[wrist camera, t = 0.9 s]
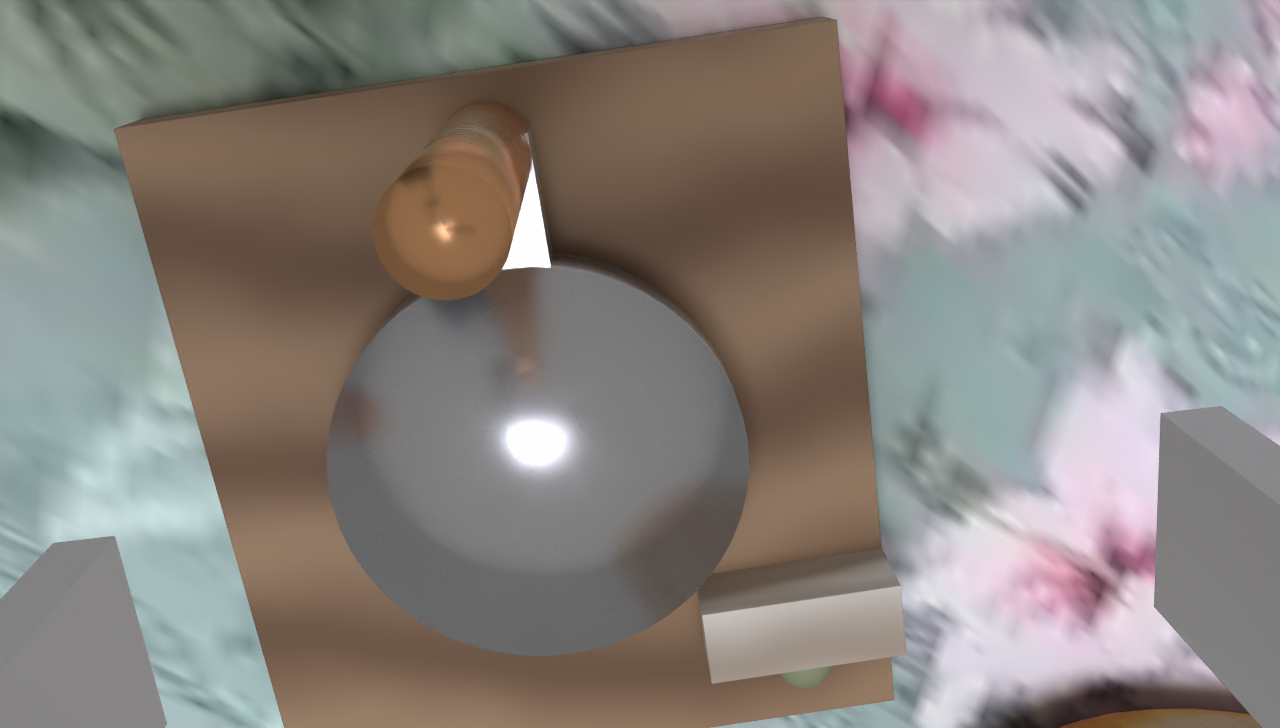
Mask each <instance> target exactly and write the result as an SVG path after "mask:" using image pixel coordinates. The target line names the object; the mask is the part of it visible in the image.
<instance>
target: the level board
mask: <svg viewBox="0 0 1280 728" xmlns="http://www.w3.org/2000/svg"><path fill="white" fill-rule="evenodd" d="M479 101H493V102H498V103H501V104H504V105H506V106H508V107H510V108H512V109H513V110H515V111H516V112H517V113H518V114H519V115H520V116H521V117H522V118H523V119H524V120H525V122H526V123H527V125H528V124H531V129H532V134H533V140H534V146H535V152H536V158H537V164H538V170H539V175H540V181H541V187H542V193H543V199H544V205H545V211H546V216H547V222H548V228H549V234H550V240H551V246H552V252H562V253H568V254H574V255H580V256H586V257H590V258H594V259H597V260H600V261H603V262H607V263H610V264H613V265H616V266H618V267H620V268H623V269H625V270H627V271H629V272H631V273H634V274H636V275H638V276H640V277H642V278H643V279H645V280H646V281H648V282H650V283H651V284H653V285H654V286H656V287H658V288H659V289H661V290H662V291H664V292H665V293H666V294H667V295H669V296H670V297H671V298H672V299H673V300H675V301H676V302H677V303H678V304H679V305H681V306H682V307H683V308H684V309H685V310H686V311H687V312H688V313H689V314H690V316H691V317H692V318H693V319H694V320H695V321H696V322H697V323H698V324H699V325H700V326H701V328H702V329H703V331H704V332H705V334H706V335H707V336H708V338H709V339H710V341H711V342H712V344H713V345H714V346H715V348H716V350H717V352H718V354H719V356H720V358H721V360H722V362H723V364H724V366H725V368H726V370H727V372H728V375H729V378H730V381H731V384H732V386H733V389H734V392H735V395H736V398H737V401H738V404H739V406H740V409H741V412H742V415H743V419H744V424H745V429H746V434H747V439H748V452H749V476H748V487H747V494H746V499H745V503H744V507H743V511H742V516H741V518H740V521H739V524H738V526H737V529H736V531H735V534H734V537H733V539H732V541H731V543H730V545H729V547H728V548H727V550H726V552H725V554H724V556H723V557H722V559H721V561H720V563H719V564H718V565H717V567H716V568H715V569H714V571H713V572H712V573H711V575H710V576H709V577H708V579H707V580H706V581H705V583H704V584H703V585H702V586H701V587H700V588H699V589H698V590H697V591H696V592H695V593H694V594H693V595H692V596H691V597H690V598H689V599H688V600H687V601H686V602H685V603H683V604H682V605H681V606H680V607H678V608H677V609H676V610H675V611H673V612H672V613H671V614H670V615H669V616H667V617H665V618H664V619H662V620H661V621H659V622H657V623H656V624H654V625H653V626H651V627H649V628H648V629H646V630H644V631H642V632H640V633H637V634H635V635H633V636H631V637H629V638H627V639H625V640H622V641H619V642H616V643H613V644H610V645H607V646H604V647H601V648H598V649H593V650H588V651H583V652H578V653H574V654H563V655H552V656H528V655H515V654H508V653H500V652H494V651H490V650H486V649H482V648H478V647H475V646H471V645H468V644H465V643H463V642H460V641H457V640H455V639H452V638H450V637H447V636H445V635H443V634H441V633H439V632H437V631H435V630H433V629H431V628H429V627H428V626H426V625H424V624H422V623H421V622H419V621H418V620H416V619H415V618H413V617H412V616H410V615H409V614H407V613H406V612H405V611H403V610H402V609H400V608H399V607H398V606H397V605H396V604H395V603H394V602H393V601H391V600H390V599H389V598H388V597H387V596H386V595H385V594H384V593H382V592H381V590H380V589H379V588H378V587H377V586H376V585H375V583H374V582H373V581H372V580H371V579H370V578H369V577H368V575H367V574H366V573H365V572H364V570H363V569H362V567H361V566H360V564H359V563H358V561H357V560H356V558H355V557H354V555H353V554H352V552H351V551H350V548H349V546H348V544H347V542H346V540H345V538H344V536H343V534H342V532H341V530H340V528H339V525H338V522H337V519H336V515H335V512H334V509H333V506H332V502H331V497H330V491H329V485H328V480H327V445H328V437H329V428H330V424H331V420H332V416H333V413H334V409H335V405H336V402H337V399H338V397H339V395H340V392H341V390H342V388H343V385H344V383H345V381H346V378H347V377H348V375H349V373H350V371H351V370H352V368H353V366H354V364H355V363H356V361H357V359H358V358H359V356H360V354H361V353H362V351H363V349H364V348H365V346H366V344H367V343H368V341H369V339H370V338H371V336H372V334H373V333H374V332H375V331H376V329H377V328H378V327H379V326H380V325H381V323H382V322H383V321H384V320H385V318H386V317H387V316H388V315H389V314H390V313H391V312H392V311H393V310H394V309H395V308H396V307H397V306H398V305H399V304H401V303H402V302H403V301H404V300H405V299H406V298H407V297H408V296H409V295H411V294H412V292H411V291H409V290H407V289H406V288H404V287H403V286H401V285H400V284H399V283H397V282H396V281H395V280H394V279H393V278H392V277H391V276H390V274H389V273H388V272H387V271H386V269H385V268H384V266H383V264H382V263H381V261H380V259H379V257H378V254H377V252H376V248H375V245H374V239H373V221H374V215H375V211H376V208H377V206H378V203H379V201H380V199H381V197H382V196H383V194H384V193H385V191H386V190H387V189H388V187H389V186H390V185H391V184H392V183H393V182H394V181H395V179H396V178H397V177H398V176H399V175H400V174H401V173H402V172H403V170H404V169H405V168H406V167H407V166H408V165H409V164H410V163H411V161H412V160H413V159H414V158H415V157H416V156H417V155H418V153H419V152H420V151H421V150H422V149H423V148H424V147H425V146H426V144H427V143H428V142H429V141H430V140H431V139H432V138H433V137H434V135H435V134H436V133H437V132H438V131H439V130H440V129H441V128H442V126H443V125H444V124H445V123H446V122H447V121H448V120H449V119H450V117H451V116H452V115H453V114H454V113H455V112H456V111H458V110H459V109H461V108H462V107H464V106H466V105H468V104H471V103H474V102H479ZM114 131H115V134H116V138H117V141H118V145H119V148H120V152H121V155H122V159H123V162H124V166H125V169H126V173H127V176H128V180H129V183H130V187H131V190H132V194H133V197H134V201H135V205H136V208H137V212H138V215H139V219H140V222H141V226H142V229H143V233H144V236H145V240H146V243H147V247H148V250H149V254H150V257H151V261H152V264H153V268H154V271H155V275H156V278H157V282H158V285H159V289H160V292H161V296H162V299H163V303H164V307H165V310H166V314H167V317H168V321H169V324H170V328H171V331H172V335H173V338H174V342H175V345H176V349H177V352H178V356H179V359H180V363H181V366H182V370H183V373H184V377H185V380H186V384H187V387H188V391H189V394H190V398H191V401H192V405H193V408H194V412H195V416H196V419H197V423H198V426H199V430H200V433H201V437H202V440H203V444H204V447H205V451H206V454H207V458H208V461H209V465H210V468H211V472H212V475H213V479H214V482H215V486H216V489H217V493H218V496H219V500H220V503H221V507H222V510H223V514H224V517H225V521H226V525H227V528H228V532H229V535H230V539H231V542H232V546H233V549H234V553H235V556H236V560H237V563H238V567H239V570H240V574H241V577H242V581H243V584H244V588H245V591H246V595H247V598H248V602H249V605H250V609H251V612H252V616H253V619H254V623H255V626H256V630H257V634H258V637H259V641H260V644H261V648H262V651H263V655H264V658H265V662H266V665H267V669H268V672H269V676H270V679H271V683H272V686H273V690H274V693H275V697H276V700H277V704H278V707H279V711H280V714H281V718H282V721H283V725H284V728H710V727H716V726H723V725H730V724H736V723H743V722H750V721H757V720H763V719H770V718H777V717H783V716H790V715H797V714H804V713H810V712H817V711H824V710H830V709H837V708H844V707H850V706H857V705H864V704H871V703H877V702H884V701H891V700H895V699H894V687H893V676H892V664H891V657H895V656H901V655H906V643H905V631H904V619H903V606H902V594H901V585H900V583H899V581H898V579H897V577H896V575H895V573H894V571H893V569H892V568H891V566H890V564H889V562H888V560H887V558H886V556H885V554H884V552H883V550H882V546H881V535H880V523H879V511H878V500H877V488H876V476H875V464H874V453H873V441H872V429H871V417H870V406H869V394H868V382H867V371H866V359H865V347H864V335H863V324H862V312H861V300H860V288H859V277H858V265H857V253H856V241H855V230H854V218H853V206H852V195H851V183H850V171H849V159H848V148H847V136H846V124H845V112H844V101H843V89H842V77H841V66H840V54H839V42H838V30H837V20H834V19H830V18H825V17H820V18H813V19H806V20H800V21H793V22H786V23H780V24H773V25H766V26H760V27H753V28H747V29H740V30H733V31H727V32H720V33H713V34H707V35H700V36H694V37H687V38H680V39H674V40H667V41H660V42H654V43H647V44H640V45H634V46H627V47H621V48H614V49H607V50H601V51H594V52H587V53H581V54H574V55H567V56H561V57H554V58H548V59H541V60H534V61H528V62H521V63H514V64H508V65H501V66H494V67H488V68H481V69H475V70H468V71H461V72H455V73H448V74H441V75H435V76H428V77H421V78H415V79H408V80H402V81H395V82H388V83H382V84H375V85H368V86H362V87H355V88H349V89H342V90H335V91H329V92H322V93H315V94H309V95H302V96H295V97H289V98H282V99H276V100H269V101H262V102H256V103H249V104H242V105H236V106H229V107H222V108H216V109H209V110H203V111H196V112H189V113H183V114H176V115H169V116H163V117H156V118H149V119H143V120H138V121H135V122H133V123H130V124H127V125H124V126H121V127H118V128H115V129H114Z"/></svg>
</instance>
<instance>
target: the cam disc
mask: <svg viewBox="0 0 1280 728" xmlns="http://www.w3.org/2000/svg"><path fill="white" fill-rule="evenodd" d="M373 239H374V245H375V248H376V252H377V254H378V257H379V259H380V261H381V263H382V264H383V266H384V268H385V269H386V271H387V272H388V273H389V274H390V276H391V277H392V278H393V279H394V280H395V281H396V282H397V283H399V284H400V285H401V286H403V287H404V288H406V289H407V290H409V291H411V292H412V294H411V295H409V296H408V297H407V298H406V299H405V300H404V301H403V302H402V303H401V304H399V305H398V306H397V307H396V308H395V309H394V310H393V311H392V312H391V313H390V314H389V315H388V316H387V317H386V318H385V320H384V321H383V322H382V323H381V325H380V326H379V327H378V328H377V329H376V331H375V332H374V333H373V334H372V336H371V338H370V339H369V341H368V343H367V344H366V346H365V348H364V349H363V351H362V353H361V354H360V356H359V358H358V359H357V361H356V363H355V364H354V366H353V368H352V370H351V371H350V373H349V375H348V377H347V378H346V381H345V383H344V385H343V388H342V390H341V392H340V395H339V397H338V399H337V402H336V405H335V409H334V413H333V416H332V420H331V424H330V428H329V437H328V445H327V480H328V485H329V491H330V497H331V502H332V506H333V509H334V512H335V515H336V519H337V522H338V525H339V528H340V530H341V532H342V534H343V536H344V538H345V540H346V542H347V544H348V546H349V548H350V551H351V552H352V554H353V555H354V557H355V558H356V560H357V561H358V563H359V564H360V566H361V567H362V569H363V570H364V572H365V573H366V574H367V575H368V577H369V578H370V579H371V580H372V581H373V582H374V583H375V585H376V586H377V587H378V588H379V589H380V590H381V592H382V593H384V594H385V595H386V596H387V597H388V598H389V599H390V600H391V601H393V602H394V603H395V604H396V605H397V606H398V607H399V608H400V609H402V610H403V611H405V612H406V613H407V614H409V615H410V616H412V617H413V618H415V619H416V620H418V621H419V622H421V623H422V624H424V625H426V626H428V627H429V628H431V629H433V630H435V631H437V632H439V633H441V634H443V635H445V636H447V637H450V638H452V639H455V640H457V641H460V642H463V643H465V644H468V645H471V646H475V647H478V648H482V649H486V650H490V651H494V652H500V653H508V654H515V655H528V656H552V655H563V654H574V653H578V652H583V651H588V650H593V649H598V648H601V647H604V646H607V645H610V644H613V643H616V642H619V641H622V640H625V639H627V638H629V637H631V636H633V635H635V634H637V633H640V632H642V631H644V630H646V629H648V628H649V627H651V626H653V625H654V624H656V623H657V622H659V621H661V620H662V619H664V618H665V617H667V616H669V615H670V614H671V613H672V612H673V611H675V610H676V609H677V608H678V607H680V606H681V605H682V604H683V603H685V602H686V601H687V600H688V599H689V598H690V597H691V596H692V595H693V594H694V593H695V592H696V591H697V590H698V589H699V588H700V587H701V586H702V585H703V584H704V583H705V581H706V580H707V579H708V577H709V576H710V575H711V573H712V572H713V571H714V569H715V568H716V567H717V565H718V564H719V563H720V561H721V559H722V557H723V556H724V554H725V552H726V550H727V548H728V547H729V545H730V543H731V541H732V539H733V537H734V534H735V531H736V529H737V526H738V524H739V521H740V518H741V516H742V511H743V507H744V503H745V499H746V494H747V487H748V476H749V452H748V439H747V434H746V429H745V424H744V419H743V415H742V412H741V409H740V406H739V404H738V401H737V398H736V395H735V392H734V389H733V386H732V384H731V381H730V378H729V375H728V372H727V370H726V368H725V366H724V364H723V362H722V360H721V358H720V356H719V354H718V352H717V350H716V348H715V346H714V345H713V344H712V342H711V341H710V339H709V338H708V336H707V335H706V334H705V332H704V331H703V329H702V328H701V326H700V325H699V324H698V323H697V322H696V321H695V320H694V319H693V318H692V317H691V316H690V314H689V313H688V312H687V311H686V310H685V309H684V308H683V307H682V306H681V305H679V304H678V303H677V302H676V301H675V300H673V299H672V298H671V297H670V296H669V295H667V294H666V293H665V292H664V291H662V290H661V289H659V288H658V287H656V286H654V285H653V284H651V283H650V282H648V281H646V280H645V279H643V278H642V277H640V276H638V275H636V274H634V273H631V272H629V271H627V270H625V269H623V268H620V267H618V266H616V265H613V264H610V263H607V262H603V261H600V260H597V259H594V258H590V257H586V256H580V255H574V254H568V253H562V252H552V246H551V240H550V234H549V228H548V222H547V216H546V211H545V205H544V199H543V193H542V187H541V181H540V175H539V170H538V164H537V158H536V152H535V146H534V140H533V134H532V129H531V124H528V125H527V123H526V122H525V120H524V119H523V118H522V117H521V116H520V115H519V114H518V113H517V112H516V111H515V110H513V109H512V108H510V107H508V106H506V105H504V104H501V103H498V102H493V101H479V102H474V103H471V104H468V105H466V106H464V107H462V108H461V109H459V110H458V111H456V112H455V113H454V114H453V115H452V116H451V117H450V119H449V120H448V121H447V122H446V123H445V124H444V125H443V126H442V128H441V129H440V130H439V131H438V132H437V133H436V134H435V135H434V137H433V138H432V139H431V140H430V141H429V142H428V143H427V144H426V146H425V147H424V148H423V149H422V150H421V151H420V152H419V153H418V155H417V156H416V157H415V158H414V159H413V160H412V161H411V163H410V164H409V165H408V166H407V167H406V168H405V169H404V170H403V172H402V173H401V174H400V175H399V176H398V177H397V178H396V179H395V181H394V182H393V183H392V184H391V185H390V186H389V187H388V189H387V190H386V191H385V193H384V194H383V196H382V197H381V199H380V201H379V203H378V206H377V208H376V211H375V215H374V221H373Z"/></svg>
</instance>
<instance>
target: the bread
mask: <svg viewBox="0 0 1280 728" xmlns="http://www.w3.org/2000/svg"><path fill="white" fill-rule="evenodd" d="M1059 728H1262V727H1261V726H1260V724H1259V723H1258V722H1257V721H1256V720H1255V719H1254V718H1253V717H1252V716H1251V714H1245V713H1238V712H1229V711H1217V710H1205V709H1193V708H1186V709H1150V710H1139V711H1128V712H1117V713H1109V714H1104V715H1100V716H1096V717H1092V718H1088V719H1084V720H1081V721H1077V722H1073V723H1070V724H1067V725H1064V726H1062V727H1059Z"/></svg>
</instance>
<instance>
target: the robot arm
mask: <svg viewBox="0 0 1280 728" xmlns="http://www.w3.org/2000/svg"><path fill="white" fill-rule="evenodd" d="M1154 607H1155V608H1156V609H1157V611H1158V612H1159V613H1160V614H1161V615H1162V616H1163V617H1164V618H1165V619H1166V621H1167V622H1168V623H1169V624H1170V625H1171V626H1172V627H1173V628H1174V630H1175V631H1176V632H1177V633H1178V634H1179V635H1180V636H1181V637H1182V638H1183V640H1184V641H1185V642H1186V643H1187V644H1188V645H1189V646H1190V647H1191V649H1192V650H1193V651H1194V652H1195V653H1196V654H1197V655H1198V656H1199V657H1200V659H1201V660H1202V661H1203V662H1204V663H1205V664H1206V665H1207V666H1208V668H1209V669H1210V670H1211V671H1212V672H1213V673H1214V674H1215V675H1216V676H1217V678H1218V679H1219V680H1220V681H1221V682H1222V683H1223V684H1224V685H1225V687H1226V688H1227V689H1228V690H1229V691H1230V692H1231V693H1232V694H1233V695H1234V697H1235V698H1236V699H1237V700H1238V701H1239V702H1240V703H1241V704H1242V706H1243V707H1244V708H1245V709H1246V710H1247V711H1248V712H1249V713H1250V714H1251V716H1252V717H1253V718H1254V719H1255V720H1256V721H1257V722H1258V723H1259V724H1260V726H1261V727H1262V728H1280V446H1279V445H1278V444H1276V443H1275V442H1273V441H1272V440H1270V439H1269V438H1267V437H1266V436H1264V435H1263V434H1261V433H1260V432H1259V431H1257V430H1256V429H1254V428H1253V427H1251V426H1250V425H1248V424H1247V423H1245V422H1244V421H1242V420H1241V419H1239V418H1238V417H1237V416H1235V415H1234V414H1232V413H1231V412H1229V411H1228V410H1226V409H1225V408H1223V407H1222V406H1218V407H1209V408H1201V409H1192V410H1184V411H1175V412H1167V413H1161V418H1160V448H1159V477H1158V506H1157V535H1156V564H1155V593H1154ZM166 724H167V722H166V719H165V715H164V712H163V708H162V704H161V701H160V697H159V694H158V690H157V686H156V683H155V679H154V676H153V672H152V668H151V665H150V661H149V658H148V654H147V650H146V647H145V643H144V640H143V636H142V632H141V629H140V625H139V622H138V618H137V614H136V611H135V607H134V604H133V600H132V596H131V593H130V589H129V586H128V582H127V578H126V575H125V571H124V568H123V564H122V560H121V557H120V553H119V550H118V546H117V542H116V539H115V536H110V537H101V538H93V539H84V540H76V541H67V542H59V543H53V544H52V545H51V546H50V547H49V548H48V549H47V550H46V552H45V553H44V554H43V555H42V556H41V557H40V558H39V559H38V560H37V561H36V562H35V563H34V564H33V565H32V566H31V568H30V569H29V570H28V571H27V572H26V573H25V574H24V575H23V576H22V577H21V578H20V579H19V580H18V581H17V583H16V584H15V585H14V586H13V587H12V588H11V589H10V590H9V591H8V592H7V593H6V594H5V595H4V596H3V598H2V599H1V600H0V728H165V726H166Z"/></svg>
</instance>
